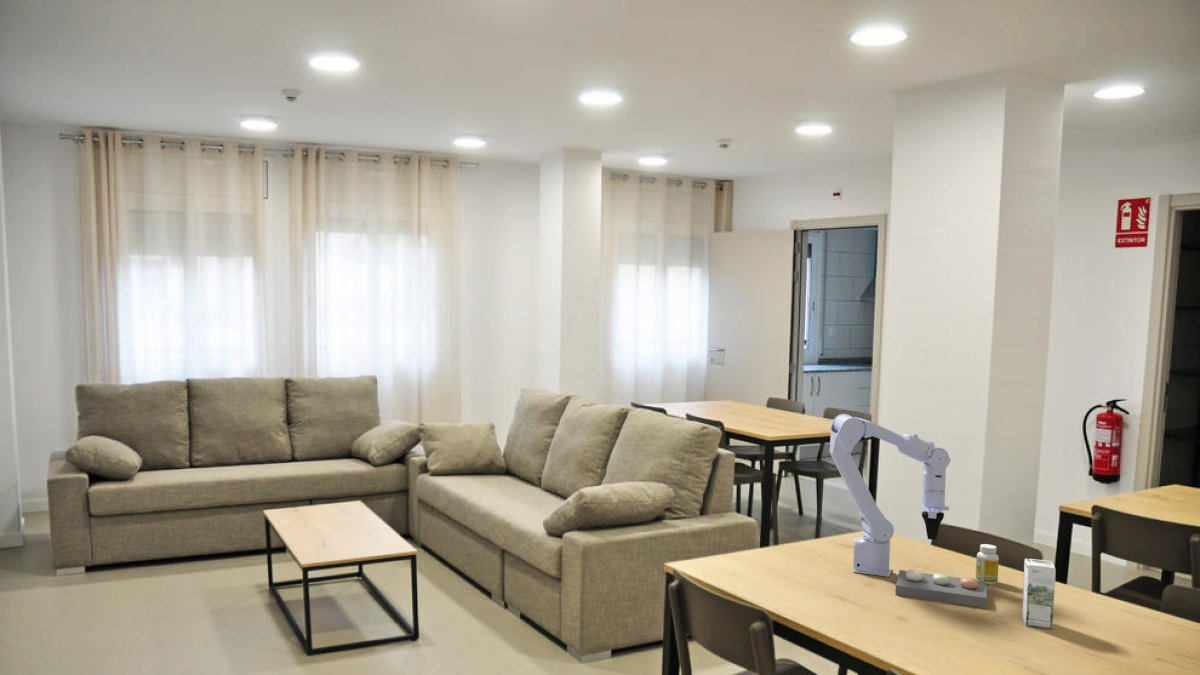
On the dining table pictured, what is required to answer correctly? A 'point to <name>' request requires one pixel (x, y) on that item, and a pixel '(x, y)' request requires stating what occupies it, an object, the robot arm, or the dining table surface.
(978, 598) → the panel
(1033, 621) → the syrup box
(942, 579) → the button sage
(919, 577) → the button cream
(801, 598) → the dining table surface
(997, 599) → the dining table surface
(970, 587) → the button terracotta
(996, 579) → the supplement bottle
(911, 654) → the dining table surface
